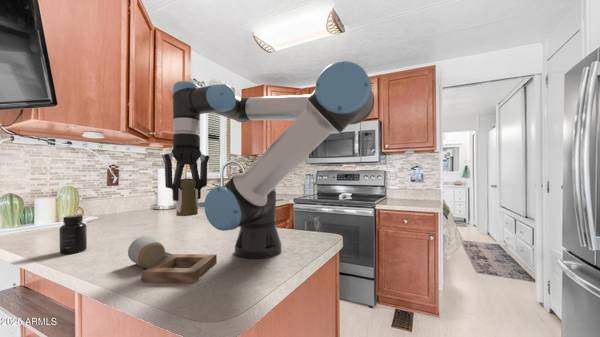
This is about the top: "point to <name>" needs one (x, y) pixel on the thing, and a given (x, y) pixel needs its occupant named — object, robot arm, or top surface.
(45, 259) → the top surface
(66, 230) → the supplement bottle
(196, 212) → the olive rounded upright piece
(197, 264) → the socket block
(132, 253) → the ceramic mug
